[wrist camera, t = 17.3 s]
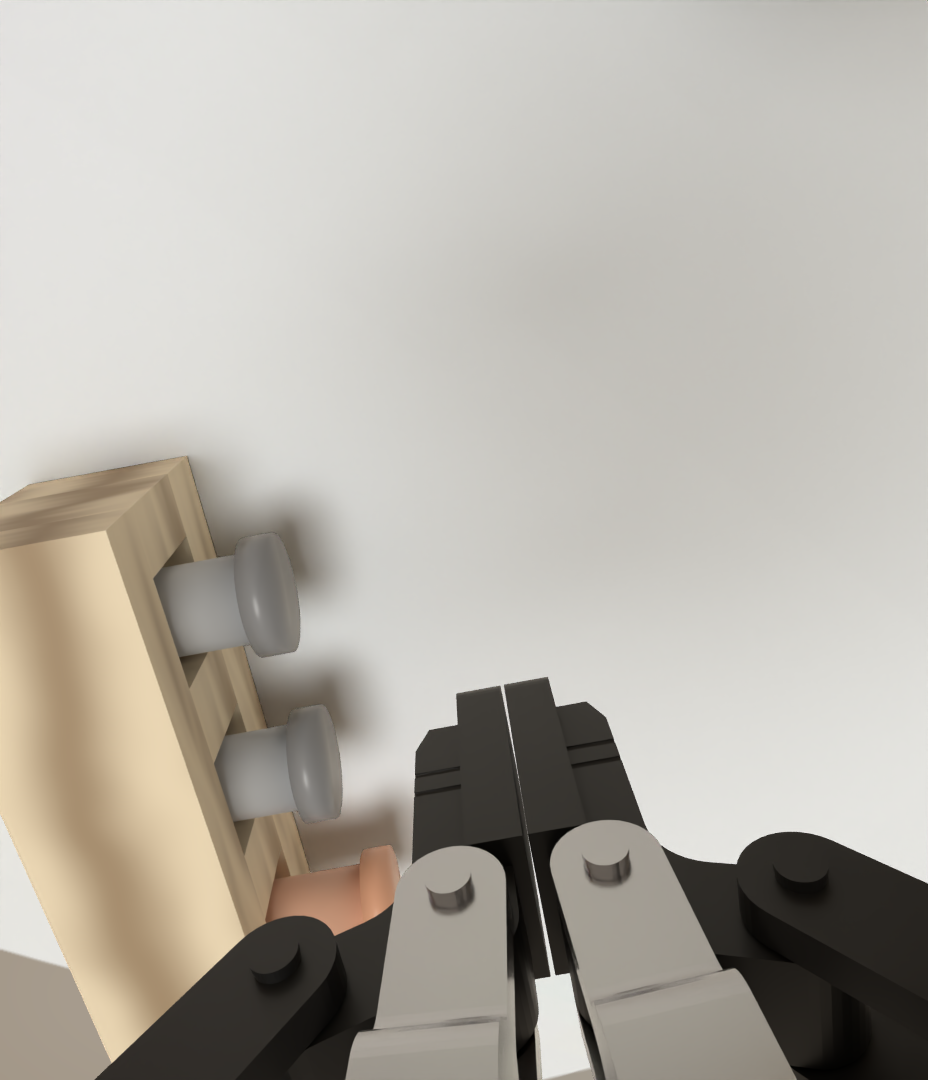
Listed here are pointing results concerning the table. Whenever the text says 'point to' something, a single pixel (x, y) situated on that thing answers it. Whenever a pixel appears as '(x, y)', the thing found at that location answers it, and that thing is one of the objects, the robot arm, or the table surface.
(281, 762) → the grey dowel
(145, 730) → the socket rail
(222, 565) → the grey dowel
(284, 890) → the dowel terracotta
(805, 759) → the table surface
